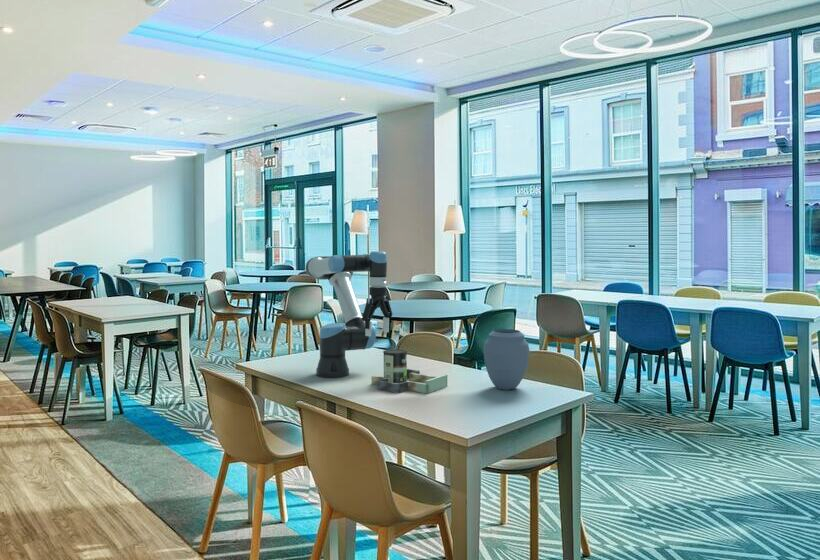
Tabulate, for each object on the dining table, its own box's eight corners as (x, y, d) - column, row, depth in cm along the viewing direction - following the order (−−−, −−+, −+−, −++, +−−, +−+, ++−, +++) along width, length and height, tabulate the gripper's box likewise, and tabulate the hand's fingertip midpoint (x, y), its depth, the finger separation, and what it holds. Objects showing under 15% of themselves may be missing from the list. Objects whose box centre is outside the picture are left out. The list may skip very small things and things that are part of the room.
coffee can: (408, 381, 291) (409, 349, 290) (404, 386, 281) (404, 353, 280) (386, 379, 293) (386, 348, 292) (380, 385, 283) (380, 352, 282)
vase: (524, 395, 265) (525, 335, 264) (477, 391, 272) (478, 332, 270) (532, 385, 284) (533, 329, 282) (488, 381, 290) (489, 326, 289)
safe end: (417, 391, 271) (417, 379, 271) (437, 384, 284) (437, 373, 283) (428, 393, 268) (428, 381, 268) (447, 386, 281) (447, 374, 281)
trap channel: (362, 386, 279) (362, 378, 279) (400, 375, 302) (400, 367, 302) (409, 394, 266) (409, 386, 266) (445, 382, 289) (445, 374, 289)
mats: (366, 386, 280) (366, 386, 280) (400, 376, 301) (400, 375, 301) (398, 391, 270) (398, 391, 270) (431, 380, 291) (431, 380, 291)
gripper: (368, 289, 278) (367, 338, 279) (400, 284, 299) (399, 331, 301) (353, 288, 282) (353, 336, 283) (386, 283, 303) (386, 329, 305)
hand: (377, 334), depth 292 cm, fingers open, 13 cm apart
